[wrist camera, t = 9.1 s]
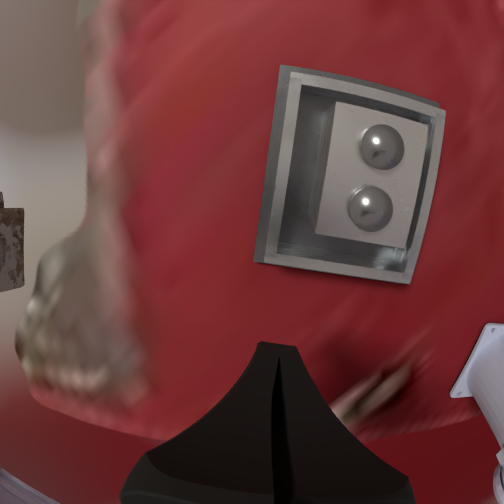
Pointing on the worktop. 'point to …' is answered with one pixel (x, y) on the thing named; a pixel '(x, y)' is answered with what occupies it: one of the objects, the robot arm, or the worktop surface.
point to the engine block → (366, 175)
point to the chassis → (302, 172)
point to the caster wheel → (11, 247)
